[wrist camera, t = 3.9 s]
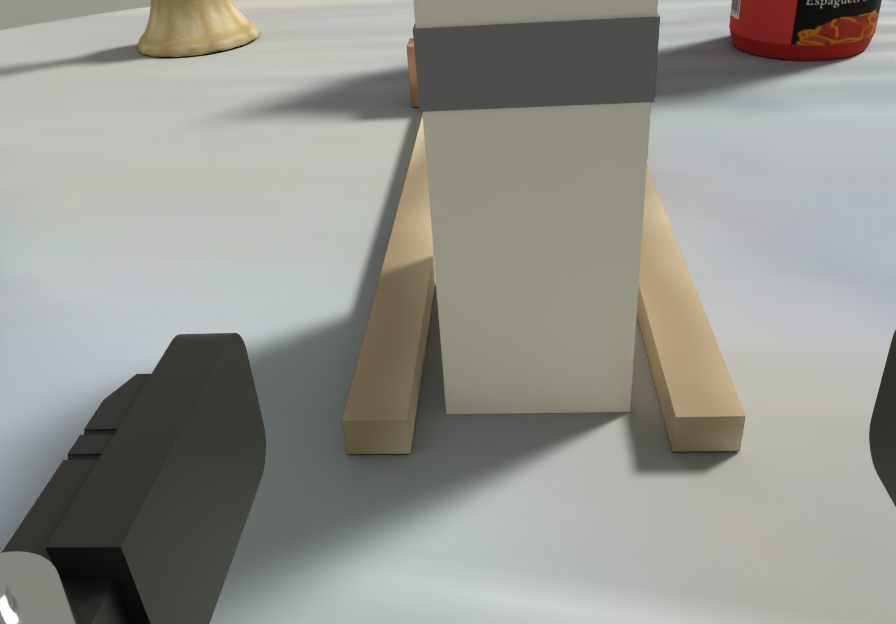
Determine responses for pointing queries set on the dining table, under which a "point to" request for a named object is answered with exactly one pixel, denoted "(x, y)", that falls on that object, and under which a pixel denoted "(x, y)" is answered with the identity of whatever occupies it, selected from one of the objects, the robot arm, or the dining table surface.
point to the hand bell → (194, 28)
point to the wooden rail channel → (658, 310)
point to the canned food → (803, 27)
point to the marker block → (536, 196)
